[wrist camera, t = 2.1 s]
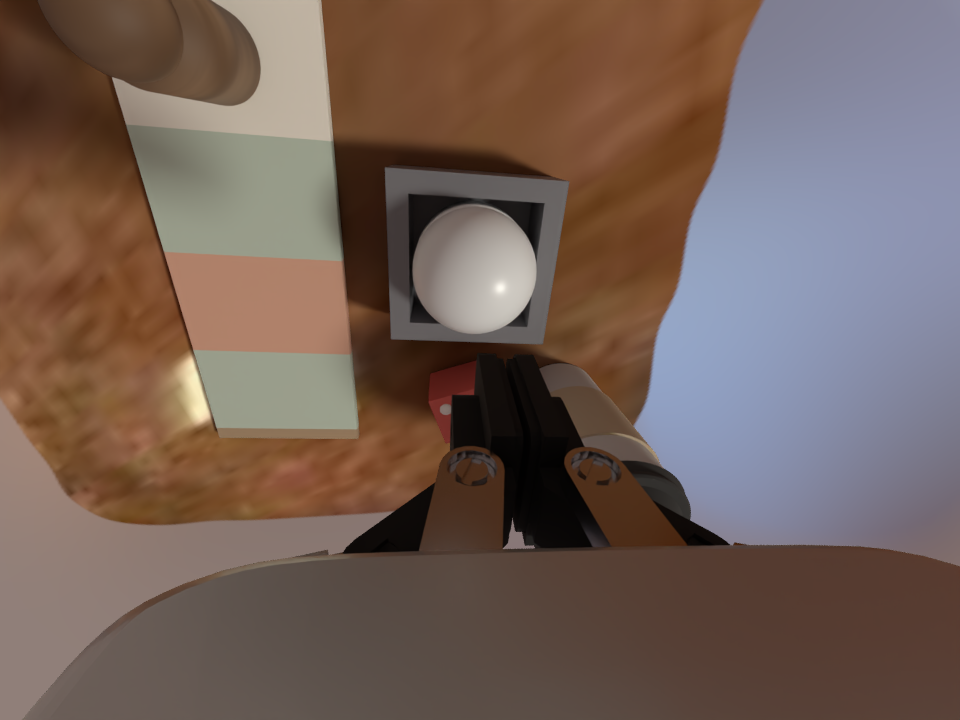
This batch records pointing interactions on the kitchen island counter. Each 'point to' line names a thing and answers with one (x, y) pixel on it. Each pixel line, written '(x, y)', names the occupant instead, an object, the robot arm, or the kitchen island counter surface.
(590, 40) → the kitchen island counter surface
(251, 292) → the game board
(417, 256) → the dome
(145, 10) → the walnut pawn
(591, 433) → the coffee cup
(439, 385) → the red die
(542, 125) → the kitchen island counter surface
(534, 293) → the base
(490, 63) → the kitchen island counter surface
